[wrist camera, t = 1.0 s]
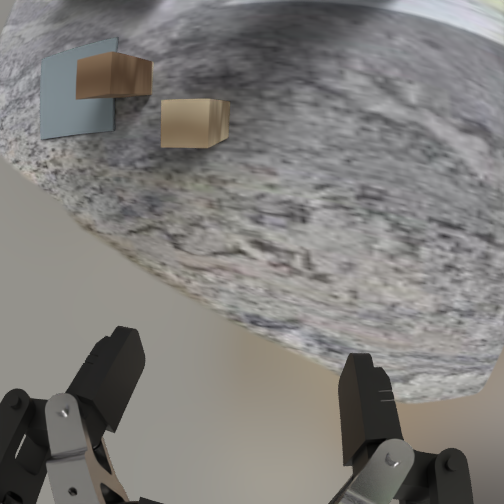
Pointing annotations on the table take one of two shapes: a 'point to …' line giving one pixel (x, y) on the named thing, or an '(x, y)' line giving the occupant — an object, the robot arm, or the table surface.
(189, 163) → the table surface
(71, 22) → the table surface
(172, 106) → the maple block
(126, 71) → the walnut block
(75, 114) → the rubber mat
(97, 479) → the robot arm
